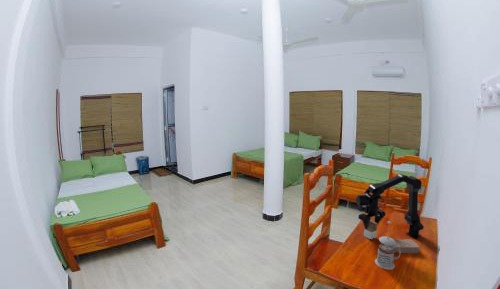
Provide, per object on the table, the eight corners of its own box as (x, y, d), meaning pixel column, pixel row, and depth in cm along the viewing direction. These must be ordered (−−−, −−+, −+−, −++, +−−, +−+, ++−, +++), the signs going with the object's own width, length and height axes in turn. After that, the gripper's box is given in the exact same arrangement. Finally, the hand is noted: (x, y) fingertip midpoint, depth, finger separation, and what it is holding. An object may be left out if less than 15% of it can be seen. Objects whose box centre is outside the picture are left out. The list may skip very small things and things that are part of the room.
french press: (377, 255, 149) (381, 215, 144) (400, 264, 142) (405, 221, 137) (372, 264, 142) (377, 222, 137) (396, 273, 134) (402, 229, 129)
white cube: (369, 233, 172) (369, 227, 171) (375, 237, 168) (376, 230, 167) (363, 235, 170) (364, 228, 169) (370, 239, 165) (371, 232, 164)
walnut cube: (369, 226, 171) (370, 219, 170) (376, 230, 167) (377, 223, 166) (364, 228, 169) (365, 221, 168) (371, 232, 164) (372, 225, 163)
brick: (389, 252, 152) (390, 245, 151) (383, 244, 160) (384, 237, 159) (419, 254, 151) (420, 247, 150) (411, 246, 159) (412, 239, 158)
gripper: (371, 197, 175) (369, 218, 179) (352, 202, 167) (350, 225, 170) (387, 203, 166) (384, 226, 169) (367, 209, 157) (364, 233, 160)
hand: (370, 227), depth 167 cm, fingers open, 9 cm apart
